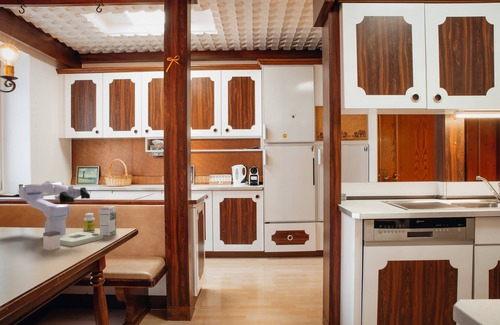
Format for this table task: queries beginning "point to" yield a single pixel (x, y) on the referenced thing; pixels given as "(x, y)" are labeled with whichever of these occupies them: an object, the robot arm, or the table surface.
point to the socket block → (79, 238)
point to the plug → (51, 240)
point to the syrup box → (108, 220)
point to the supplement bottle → (89, 223)
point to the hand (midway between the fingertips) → (81, 198)
